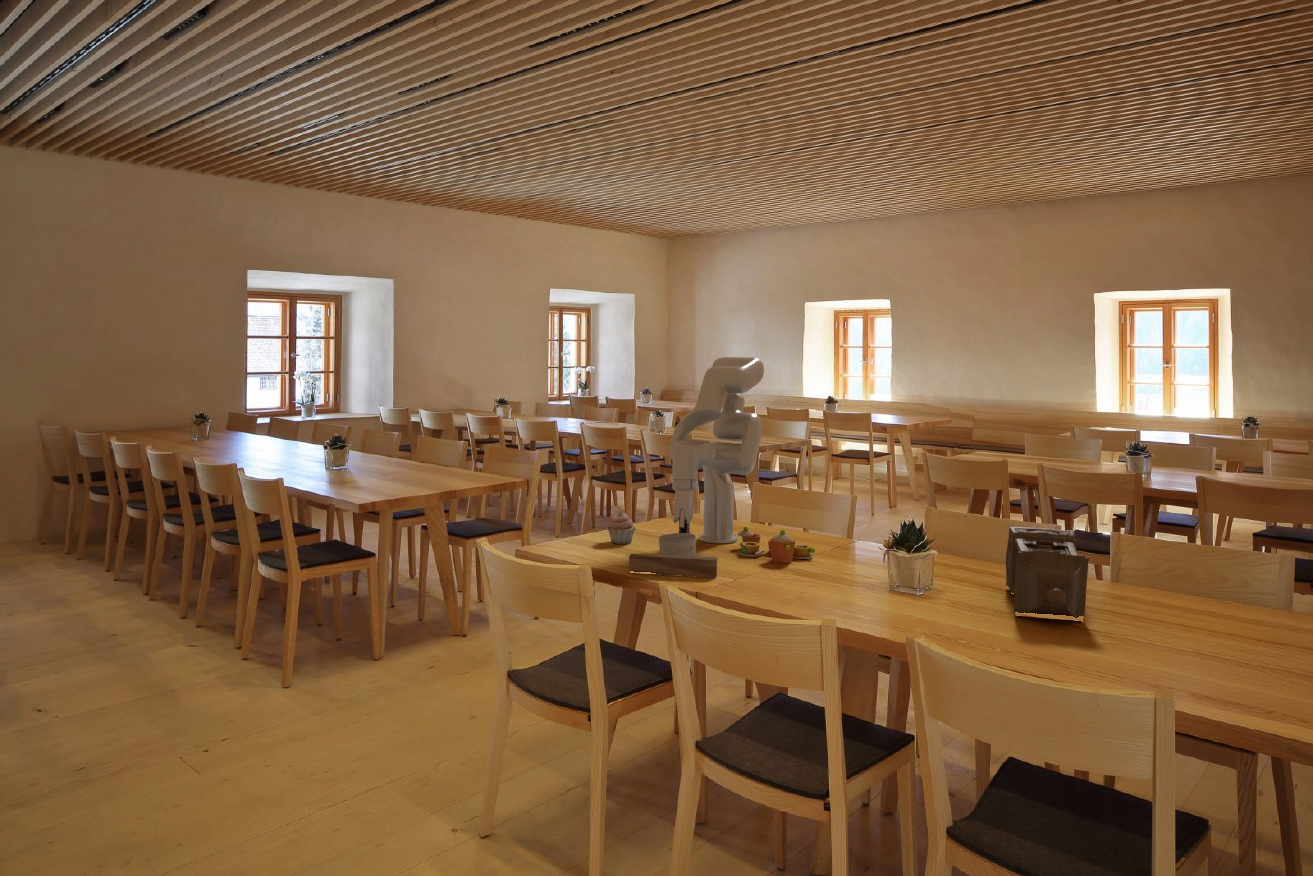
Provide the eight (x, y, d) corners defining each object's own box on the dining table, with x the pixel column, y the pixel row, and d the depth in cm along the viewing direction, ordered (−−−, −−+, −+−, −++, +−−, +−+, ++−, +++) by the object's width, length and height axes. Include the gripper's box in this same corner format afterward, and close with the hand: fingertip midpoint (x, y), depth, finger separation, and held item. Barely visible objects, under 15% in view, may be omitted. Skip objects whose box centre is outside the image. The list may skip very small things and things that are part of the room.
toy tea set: (820, 558, 271) (821, 526, 270) (791, 568, 260) (792, 534, 259) (749, 545, 288) (749, 515, 287) (719, 553, 277) (719, 522, 276)
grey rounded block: (680, 569, 256) (680, 541, 255) (650, 563, 263) (650, 536, 262) (709, 560, 266) (710, 533, 266) (680, 554, 273) (680, 528, 273)
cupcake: (602, 541, 292) (602, 510, 291) (628, 538, 296) (629, 508, 295) (613, 547, 283) (613, 515, 282) (640, 544, 287) (640, 513, 286)
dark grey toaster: (1090, 647, 200) (1107, 568, 197) (1005, 629, 205) (1021, 551, 202) (1069, 601, 233) (1084, 532, 230) (997, 586, 238) (1010, 518, 235)
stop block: (631, 571, 254) (631, 553, 253) (717, 575, 250) (717, 557, 249) (629, 573, 251) (629, 556, 250) (715, 578, 247) (716, 559, 246)
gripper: (676, 480, 279) (675, 539, 281) (668, 487, 264) (667, 549, 266) (700, 481, 278) (699, 540, 279) (694, 488, 263) (693, 550, 265)
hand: (684, 544), depth 273 cm, fingers closed
